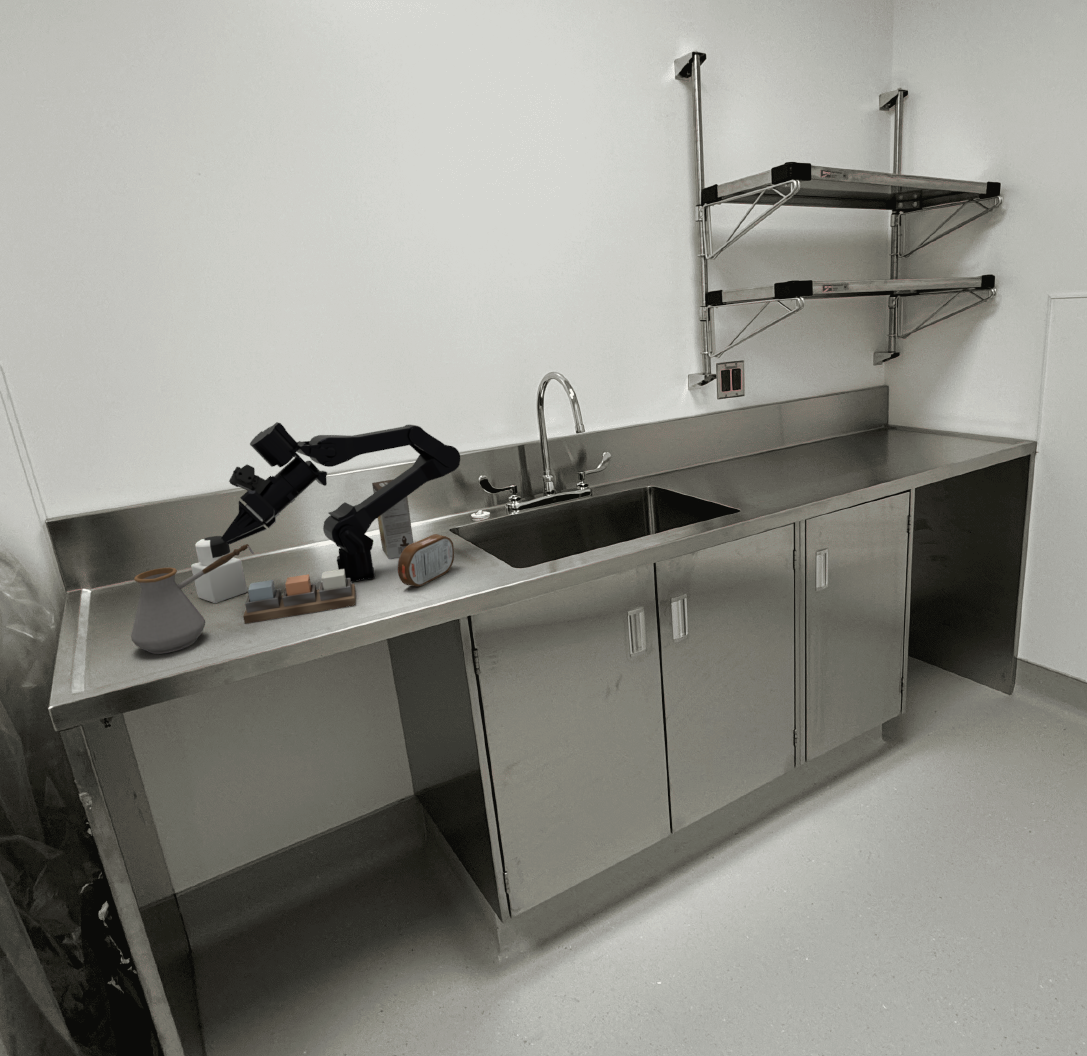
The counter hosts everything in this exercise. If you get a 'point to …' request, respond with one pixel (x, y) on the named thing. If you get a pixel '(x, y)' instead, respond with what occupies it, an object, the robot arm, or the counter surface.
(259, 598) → the slate button
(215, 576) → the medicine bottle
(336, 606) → the button panel
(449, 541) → the tin
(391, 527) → the coffee box
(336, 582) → the white button
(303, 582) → the terracotta button
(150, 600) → the coffee pot
